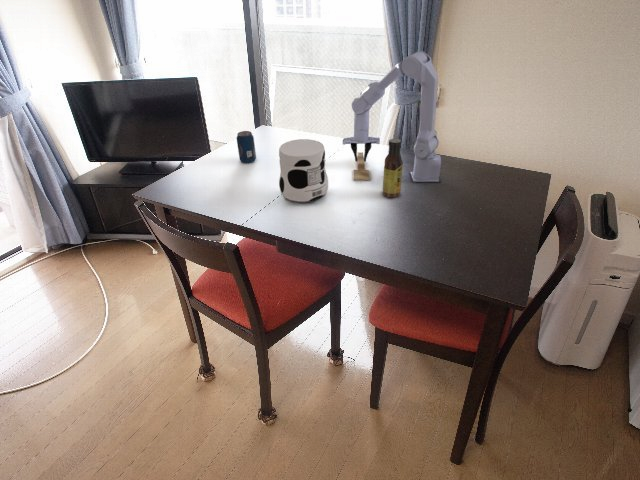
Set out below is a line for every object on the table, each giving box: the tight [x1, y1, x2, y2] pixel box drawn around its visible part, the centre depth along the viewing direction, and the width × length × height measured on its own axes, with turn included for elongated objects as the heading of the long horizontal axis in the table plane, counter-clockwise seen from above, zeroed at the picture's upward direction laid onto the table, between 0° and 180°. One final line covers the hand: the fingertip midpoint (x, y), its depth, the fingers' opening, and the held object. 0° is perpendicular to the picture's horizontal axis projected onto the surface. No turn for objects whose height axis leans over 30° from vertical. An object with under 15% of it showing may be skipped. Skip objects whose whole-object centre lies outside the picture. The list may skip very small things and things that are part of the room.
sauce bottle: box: [382, 138, 404, 199], centre depth 143 cm, size 6×6×20 cm
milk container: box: [278, 138, 329, 204], centre depth 145 cm, size 17×17×18 cm
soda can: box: [236, 130, 257, 165], centre depth 173 cm, size 7×7×12 cm
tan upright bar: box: [353, 151, 371, 181], centre depth 166 cm, size 20×6×3 cm, turn 177°
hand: (360, 160), depth 170 cm, fingers open, 3 cm apart
